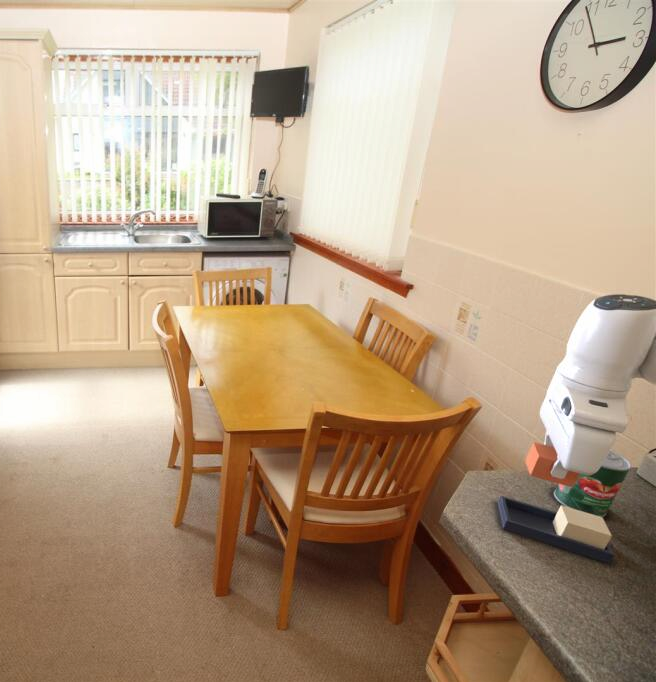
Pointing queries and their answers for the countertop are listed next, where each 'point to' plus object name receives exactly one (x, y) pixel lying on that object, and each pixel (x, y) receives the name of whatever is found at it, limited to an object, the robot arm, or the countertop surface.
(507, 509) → the frame
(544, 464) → the orange block
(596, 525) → the cream block
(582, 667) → the countertop surface
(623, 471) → the canned tomato
